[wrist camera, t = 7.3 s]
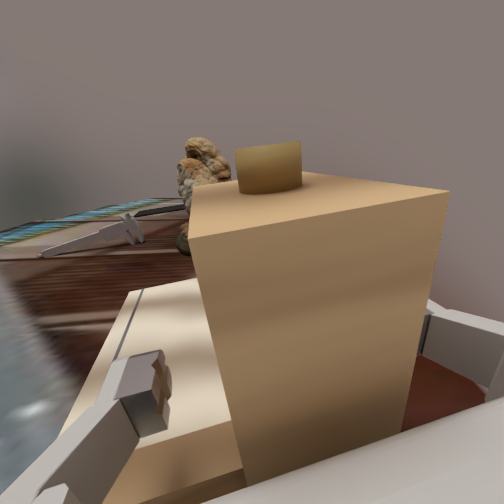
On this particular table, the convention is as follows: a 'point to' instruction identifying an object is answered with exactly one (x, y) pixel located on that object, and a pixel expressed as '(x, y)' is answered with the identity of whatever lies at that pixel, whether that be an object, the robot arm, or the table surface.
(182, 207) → the smartphone
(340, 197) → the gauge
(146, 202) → the table surface
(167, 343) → the board
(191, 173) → the carved stone sculpture
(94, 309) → the table surface
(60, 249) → the caliper
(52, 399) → the table surface
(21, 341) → the table surface
